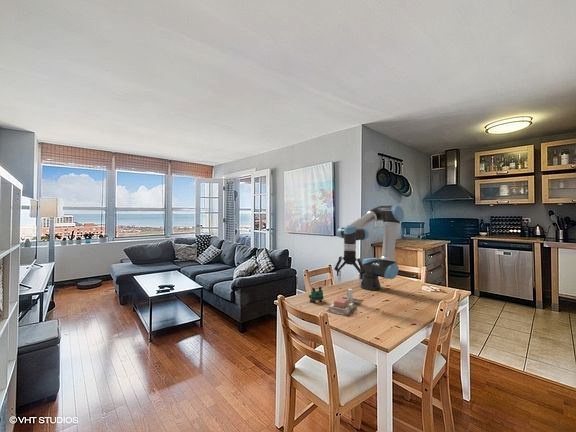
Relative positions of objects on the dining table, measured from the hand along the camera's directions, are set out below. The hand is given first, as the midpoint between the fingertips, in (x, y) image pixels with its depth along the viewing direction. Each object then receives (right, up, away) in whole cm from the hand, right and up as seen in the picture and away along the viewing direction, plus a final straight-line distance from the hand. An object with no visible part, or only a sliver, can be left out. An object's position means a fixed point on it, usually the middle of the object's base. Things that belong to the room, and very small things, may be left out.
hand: (349, 282), depth 168 cm
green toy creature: (-22, -14, +3) cm, 26 cm away
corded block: (-4, -13, -7) cm, 15 cm away
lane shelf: (-4, -14, -6) cm, 15 cm away
